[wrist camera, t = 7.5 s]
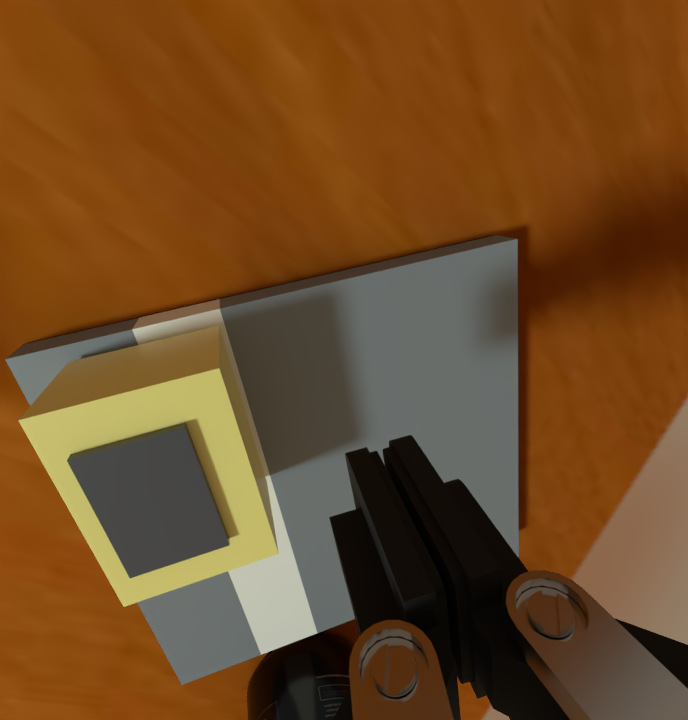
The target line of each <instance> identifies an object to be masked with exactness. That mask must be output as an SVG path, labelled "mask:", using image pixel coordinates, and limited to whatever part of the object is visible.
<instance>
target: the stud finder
mask: <svg viewBox="0 0 688 720" xmlns="http://www.w3.org/2000/svg"><path fill="white" fill-rule="evenodd" d="M18 421H19V422H20V424H21V426H22V428H23V430H24V431H25V433H26V435H27V437H28V438H29V440H30V442H31V444H32V445H33V447H34V449H35V451H36V453H37V454H38V456H39V458H40V460H41V461H42V463H43V465H44V467H45V468H46V470H47V472H48V474H49V476H50V477H51V479H52V481H53V483H54V484H55V486H56V488H57V490H58V491H59V493H60V495H61V497H62V499H63V500H64V502H65V504H66V506H67V507H68V509H69V511H70V513H71V514H72V516H73V518H74V520H75V522H76V523H77V525H78V527H79V529H80V530H81V532H82V534H83V536H84V537H85V539H86V541H87V543H88V545H89V546H90V548H91V550H92V552H93V553H94V555H95V557H96V559H97V560H98V562H99V564H100V566H101V567H102V569H103V571H104V573H105V575H106V576H107V578H108V580H109V582H110V583H111V585H112V587H113V589H114V590H115V592H116V594H117V596H118V598H119V599H120V601H121V603H122V605H123V606H124V607H125V606H128V605H131V604H134V603H137V602H140V601H143V600H146V599H148V598H151V597H154V596H157V595H160V594H163V593H166V592H169V591H172V590H175V589H178V588H181V587H183V586H186V585H189V584H192V583H195V582H198V581H201V580H204V579H207V578H210V577H213V576H216V575H219V574H221V573H224V572H227V571H230V570H233V569H236V568H239V567H242V566H245V565H248V564H251V563H254V562H256V561H259V560H262V559H265V558H268V557H271V556H274V555H277V554H279V552H278V546H277V540H276V534H275V528H274V522H273V516H272V510H271V503H270V497H269V491H268V485H267V480H266V477H265V474H264V470H263V467H262V464H261V460H260V457H259V454H258V451H257V447H256V444H255V441H254V438H253V434H252V431H251V428H250V425H249V421H248V418H247V415H246V412H245V408H244V405H243V402H242V399H241V395H240V392H239V389H238V385H237V382H236V379H235V376H234V372H233V369H232V366H231V363H230V359H229V356H228V353H227V350H226V346H225V343H224V340H223V337H222V333H221V330H220V327H219V326H215V327H211V328H207V329H203V330H199V331H194V332H190V333H186V334H182V335H178V336H174V337H170V338H165V339H161V340H157V341H153V342H149V343H145V344H141V345H137V346H132V347H128V348H124V349H120V350H116V351H112V352H108V353H103V354H99V355H95V356H91V357H87V358H83V359H79V360H75V361H70V362H68V363H67V364H66V365H65V367H64V368H63V369H62V370H61V371H60V372H59V373H58V375H57V376H56V377H55V378H54V379H53V380H52V382H51V383H50V384H49V385H48V386H47V387H46V389H45V390H44V391H43V392H42V393H41V394H40V396H39V397H38V398H37V399H36V400H35V401H34V403H33V404H32V405H31V406H30V407H29V408H28V410H27V411H26V412H25V413H24V414H23V415H22V417H21V418H20V419H19V420H18Z"/></svg>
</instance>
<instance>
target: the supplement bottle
mask: <svg viewBox="0 0 688 720" xmlns="http://www.w3.org/2000/svg"><path fill="white" fill-rule="evenodd" d="M352 650H353V647H352V646H351V645H350V644H349V643H347V642H346V641H344V640H342V639H339V638H337V637H333V636H325V635H317V636H309V637H306V638H304V639H301V640H298V641H296V642H293V643H290V644H288V645H285V646H283V647H280V648H278V649H276V650H275V651H273V652H272V653H270V654H269V655H268V656H267V657H266V658H265V659H264V660H263V661H262V662H261V663H260V664H259V665H258V667H257V668H256V670H255V671H254V673H253V675H252V677H251V679H250V682H249V685H248V691H247V707H248V720H333V718H334V716H335V715H336V713H337V711H338V709H339V707H340V705H341V703H342V701H343V699H344V697H345V695H346V693H347V691H348V689H349V687H350V677H349V664H350V655H351V652H352Z"/></svg>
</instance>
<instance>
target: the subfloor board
mask: <svg viewBox="0 0 688 720" xmlns="http://www.w3.org/2000/svg"><path fill="white" fill-rule="evenodd" d="M215 326H219V327H220V330H221V333H222V337H223V340H224V343H225V346H226V350H227V353H228V356H229V359H230V363H231V366H232V369H233V372H234V376H235V379H236V382H237V385H238V389H239V392H240V395H241V399H242V402H243V405H244V408H245V412H246V415H247V418H248V421H249V425H250V428H251V431H252V434H253V438H254V441H255V444H256V447H257V451H258V454H259V457H260V460H261V464H262V467H263V470H264V474H265V477H266V480H267V485H268V491H269V497H270V503H271V510H272V516H273V522H274V528H275V534H276V540H277V546H278V552H279V554H277V555H274V556H271V557H268V558H265V559H262V560H259V561H256V562H254V563H251V564H248V565H245V566H242V567H239V568H236V569H233V570H230V571H227V572H224V573H221V574H219V575H216V576H213V577H210V578H207V579H204V580H201V581H198V582H195V583H192V584H189V585H186V586H183V587H181V588H178V589H175V590H172V591H169V592H166V593H163V594H160V595H157V596H154V597H151V598H148V599H146V600H143V601H140V602H137V603H138V605H139V607H140V609H141V611H142V612H143V614H144V616H145V618H146V620H147V622H148V624H149V625H150V627H151V629H152V631H153V633H154V635H155V636H156V638H157V640H158V642H159V644H160V646H161V647H162V649H163V651H164V653H165V655H166V657H167V658H168V660H169V662H170V664H171V666H172V668H173V670H174V671H175V673H176V675H177V677H178V679H179V681H180V682H181V684H182V685H183V684H186V683H188V682H191V681H194V680H196V679H199V678H201V677H204V676H207V675H209V674H212V673H214V672H217V671H220V670H222V669H225V668H228V667H230V666H233V665H235V664H238V663H241V662H243V661H246V660H249V659H251V658H254V657H256V656H259V655H262V654H264V653H267V652H270V651H272V650H275V649H277V648H280V647H283V646H285V645H288V644H290V643H293V642H296V641H298V640H301V639H304V638H306V637H309V636H311V635H314V634H317V633H319V632H322V631H325V630H327V629H330V628H332V627H335V626H338V625H340V624H343V623H346V622H348V621H351V620H353V619H355V616H354V613H353V609H352V605H351V601H350V597H349V594H348V590H347V586H346V582H345V579H344V575H343V571H342V567H341V563H340V559H339V555H338V551H337V547H336V543H335V539H334V535H333V531H332V527H331V523H330V518H329V517H331V516H335V515H338V514H342V513H345V512H348V511H352V510H355V509H356V507H355V502H354V498H353V493H352V488H351V483H350V478H349V473H348V468H347V463H346V458H345V453H347V452H351V451H354V450H358V449H361V448H365V447H367V448H368V450H369V452H373V451H377V452H378V453H379V455H380V457H381V459H382V461H383V463H384V458H383V449H384V448H387V447H389V441H390V440H394V439H397V438H401V437H404V436H408V435H412V436H413V437H414V439H415V440H416V442H417V443H418V445H419V446H420V448H421V449H422V451H423V452H424V454H425V455H426V457H427V458H428V460H429V461H430V463H431V464H432V466H433V467H434V469H435V470H436V472H437V473H438V475H439V476H440V478H441V479H442V481H443V482H444V483H445V482H448V481H452V480H455V479H459V480H461V481H462V482H463V483H464V484H465V486H466V487H467V488H468V490H469V491H470V492H471V494H472V495H473V497H474V498H475V499H476V501H477V502H478V503H479V505H480V506H481V507H482V509H483V510H484V512H485V513H486V514H487V516H488V517H489V518H490V520H491V521H492V523H493V524H494V525H495V527H496V528H497V529H498V531H499V532H500V533H501V535H502V536H503V538H504V539H505V540H506V542H507V543H508V544H509V546H510V547H511V548H512V550H513V551H514V553H515V554H516V555H517V557H519V519H518V239H516V238H511V237H505V236H499V235H494V236H490V237H486V238H481V239H477V240H473V241H468V242H464V243H460V244H455V245H451V246H447V247H442V248H438V249H434V250H429V251H425V252H421V253H417V254H412V255H408V256H404V257H399V258H395V259H391V260H386V261H382V262H378V263H373V264H369V265H365V266H360V267H356V268H352V269H347V270H343V271H339V272H334V273H330V274H326V275H321V276H317V277H313V278H308V279H304V280H300V281H295V282H291V283H287V284H282V285H278V286H274V287H270V288H265V289H261V290H257V291H252V292H248V293H244V294H239V295H235V296H231V297H226V298H222V299H218V300H213V301H209V302H205V303H200V304H196V305H192V306H187V307H183V308H179V309H174V310H170V311H166V312H161V313H157V314H153V315H148V316H144V317H140V318H135V319H131V320H127V321H123V322H118V323H114V324H110V325H105V326H101V327H97V328H92V329H88V330H84V331H79V332H75V333H71V334H66V335H62V336H58V337H53V338H49V339H45V340H40V341H36V342H32V343H27V344H23V345H22V346H21V347H20V348H19V349H17V350H16V351H15V352H14V353H12V354H11V355H10V356H9V357H7V358H6V359H5V360H6V362H7V364H8V366H9V368H10V369H11V371H12V373H13V375H14V377H15V379H16V380H17V382H18V384H19V386H20V388H21V390H22V392H23V393H24V395H25V397H26V399H27V401H28V403H29V404H30V406H31V405H32V404H33V403H34V401H35V400H36V399H37V398H38V397H39V396H40V394H41V393H42V392H43V391H44V390H45V389H46V387H47V386H48V385H49V384H50V383H51V382H52V380H53V379H54V378H55V377H56V376H57V375H58V373H59V372H60V371H61V370H62V369H63V368H64V367H65V365H66V364H67V363H68V362H70V361H75V360H79V359H83V358H87V357H91V356H95V355H99V354H103V353H108V352H112V351H116V350H120V349H124V348H128V347H132V346H137V345H141V344H145V343H149V342H153V341H157V340H161V339H165V338H170V337H174V336H178V335H182V334H186V333H190V332H194V331H199V330H203V329H207V328H211V327H215ZM384 465H385V464H384Z"/></svg>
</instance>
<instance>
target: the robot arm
mask: <svg viewBox="0 0 688 720" xmlns="http://www.w3.org/2000/svg"><path fill="white" fill-rule="evenodd" d="M345 458H346V463H347V468H348V473H349V478H350V483H351V488H352V493H353V498H354V502H355V507H356V509H355V510H352V511H348V512H345V513H342V514H338V515H335V516H331V517H329V518H330V523H331V527H332V531H333V535H334V539H335V543H336V547H337V551H338V555H339V559H340V563H341V567H342V571H343V575H344V579H345V582H346V586H347V590H348V594H349V597H350V601H351V605H352V609H353V613H354V616H355V620H356V624H357V628H358V631H359V635H360V637H359V638H358V640H357V641H356V642H355V644H354V647H353V650H352V652H351V655H350V664H349V677H350V687H349V689H348V691H347V693H346V695H345V697H344V699H343V701H342V703H341V705H340V707H339V709H338V711H337V713H336V715H335V716H334V718H333V720H461V719H460V707H459V696H458V684H457V677H458V679H459V681H460V682H461V683H462V684H464V683H466V682H469V681H470V683H471V686H472V688H473V690H474V692H475V694H476V696H477V699H478V698H481V697H483V696H486V695H487V697H488V699H489V701H490V703H491V705H492V707H493V708H494V709H495V710H497V711H499V712H501V713H503V714H505V715H507V716H509V718H510V720H688V645H686V644H684V643H681V642H678V641H675V640H672V639H670V638H667V637H664V636H662V635H659V634H656V633H653V632H650V631H648V630H645V629H642V628H640V627H637V626H634V625H631V624H628V623H626V622H623V621H620V620H617V619H614V618H613V617H612V616H611V615H610V614H609V613H608V612H607V611H606V610H605V609H604V608H603V607H602V606H601V605H600V604H599V603H598V602H597V601H596V600H594V599H593V598H592V597H591V596H590V595H589V594H588V593H587V592H586V591H585V590H584V589H583V588H582V587H580V586H579V585H578V584H576V583H575V582H574V581H572V580H571V579H569V578H567V577H564V576H562V575H560V574H558V573H554V572H549V571H545V570H544V571H530V572H528V570H527V569H526V568H525V566H524V565H523V564H522V562H521V561H520V559H519V558H518V557H517V555H516V554H515V553H514V551H513V550H512V548H511V547H510V546H509V544H508V543H507V542H506V540H505V539H504V538H503V536H502V535H501V533H500V532H499V531H498V529H497V528H496V527H495V525H494V524H493V523H492V521H491V520H490V518H489V517H488V516H487V514H486V513H485V512H484V510H483V509H482V507H481V506H480V505H479V503H478V502H477V501H476V499H475V498H474V497H473V495H472V494H471V492H470V491H469V490H468V488H467V487H466V486H465V484H464V483H463V482H462V481H461V480H459V479H455V480H452V481H448V482H445V483H444V482H443V481H442V479H441V478H440V476H439V475H438V473H437V472H436V470H435V469H434V467H433V466H432V464H431V463H430V461H429V460H428V458H427V457H426V455H425V454H424V452H423V451H422V449H421V448H420V446H419V445H418V443H417V442H416V440H415V439H414V437H413V436H412V435H408V436H404V437H401V438H397V439H394V440H390V441H389V447H387V448H384V449H383V458H384V463H383V461H382V459H381V457H380V455H379V453H378V452H377V451H373V452H369V450H368V448H367V447H365V448H361V449H358V450H354V451H351V452H347V453H345ZM384 464H385V465H384Z"/></svg>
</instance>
